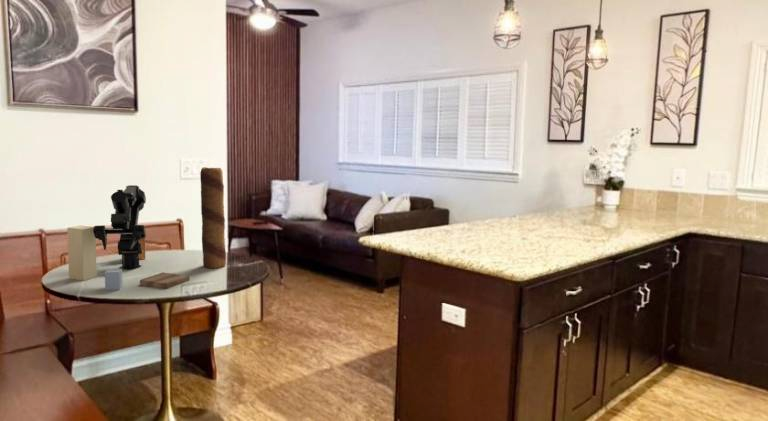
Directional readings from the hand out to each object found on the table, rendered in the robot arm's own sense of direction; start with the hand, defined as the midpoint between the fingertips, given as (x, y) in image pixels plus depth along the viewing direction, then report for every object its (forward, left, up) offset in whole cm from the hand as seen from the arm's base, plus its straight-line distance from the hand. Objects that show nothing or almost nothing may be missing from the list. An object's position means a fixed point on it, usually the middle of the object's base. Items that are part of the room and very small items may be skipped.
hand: (117, 249), depth 212 cm
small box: (-24, +35, -14) cm, 45 cm away
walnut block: (+16, +7, -14) cm, 22 cm away
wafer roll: (+17, +38, -14) cm, 44 cm away
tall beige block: (-18, 0, -14) cm, 22 cm away
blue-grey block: (+4, -7, -14) cm, 16 cm away
